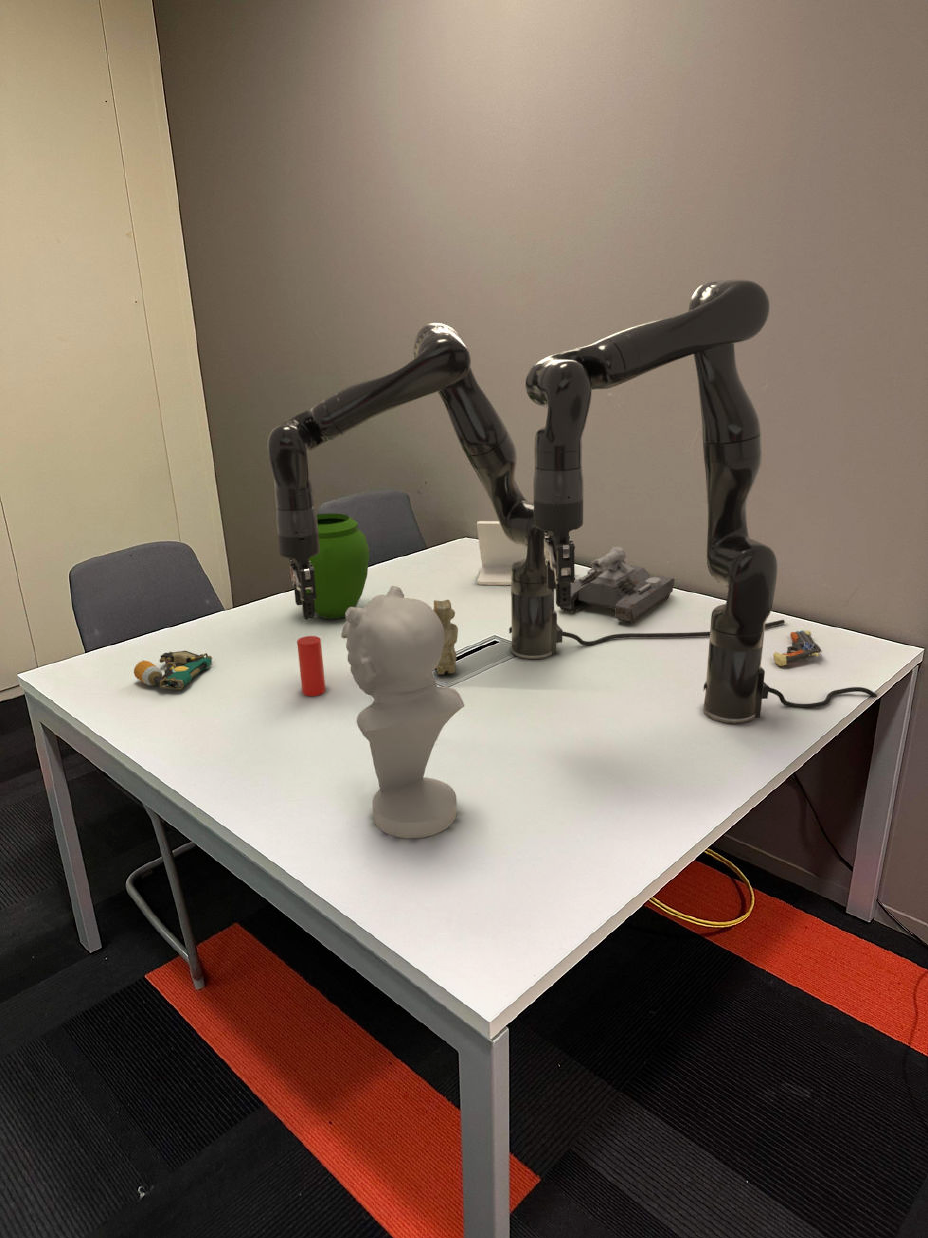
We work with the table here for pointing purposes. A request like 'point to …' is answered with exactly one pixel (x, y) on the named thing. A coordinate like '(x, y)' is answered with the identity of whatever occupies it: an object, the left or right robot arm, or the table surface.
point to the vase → (339, 565)
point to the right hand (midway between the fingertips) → (558, 596)
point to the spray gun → (172, 669)
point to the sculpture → (447, 636)
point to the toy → (619, 588)
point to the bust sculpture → (402, 709)
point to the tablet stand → (498, 554)
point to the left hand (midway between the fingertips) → (305, 611)
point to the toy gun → (798, 649)
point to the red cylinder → (311, 665)
